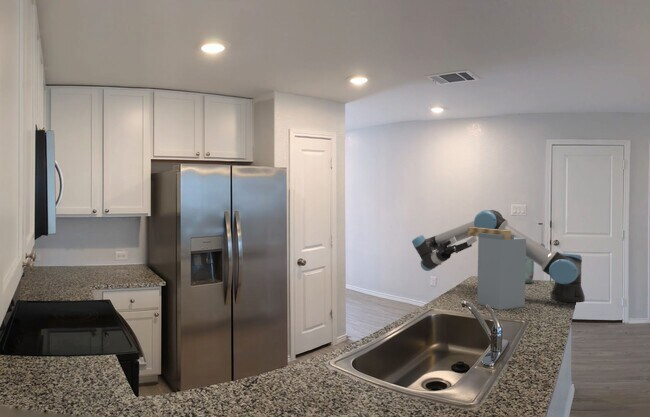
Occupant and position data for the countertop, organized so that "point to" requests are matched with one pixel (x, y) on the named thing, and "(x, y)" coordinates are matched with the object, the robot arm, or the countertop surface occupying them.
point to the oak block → (489, 232)
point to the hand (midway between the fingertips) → (465, 238)
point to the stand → (501, 271)
